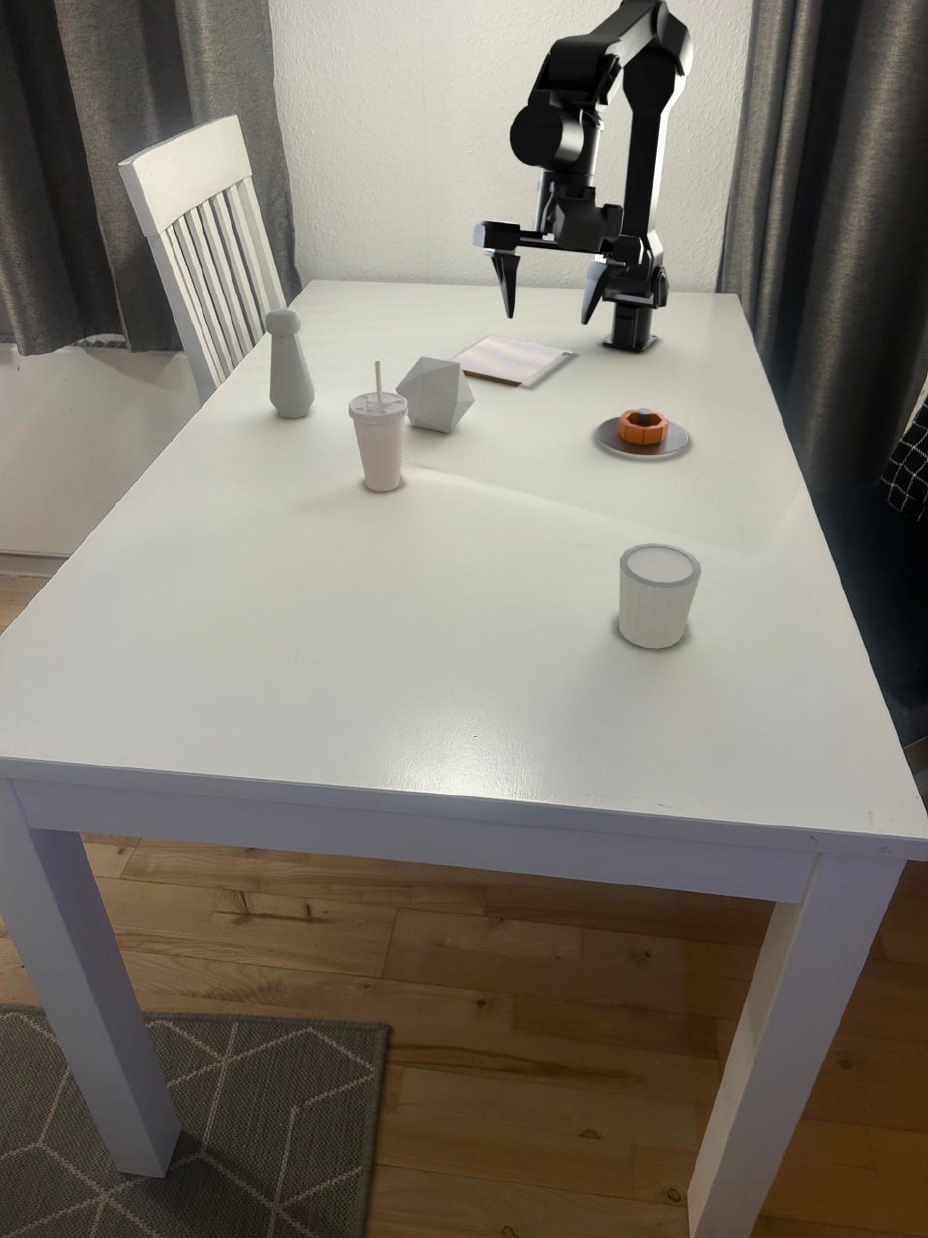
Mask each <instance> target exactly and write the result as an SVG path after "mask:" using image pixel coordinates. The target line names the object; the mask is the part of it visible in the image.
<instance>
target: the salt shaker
mask: <svg viewBox="0 0 928 1238" xmlns="http://www.w3.org/2000/svg"><path fill="white" fill-rule="evenodd" d="M264 325H265V330H266V332H267V333H268V334H270V335H271V342H270V343H271V344H270V373H269V374H270V375H269V376H270V379H269V401H270V403H271V404H272V405H273V407H274V408H275V410H276V411H277V412H278V414H279V415H280V418H286V419H298V418H302V417H303V418H304V417H306V416H308V414H309V412H310V410H311V407H312V405H313V403H314V401H315V395H316V390H315V386H314V383H313V380H312V377H311V374H310V371H309V367H308V364H307V360H306V357H305V353H304V351H303V347H302V344H301V342H300V341H301V340H300V338H299V334H298V333H299V332H300V331H301V326H302V321H301V315H300V314H299V313H298V312H297V311H295V310H294V309H290V308H278V309H277V308H276V309H273V310H271V311H269V312H267V314H266V315H265V319H264Z"/></svg>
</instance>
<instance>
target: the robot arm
mask: <svg viewBox="0 0 928 1238" xmlns="http://www.w3.org/2000/svg"><path fill="white" fill-rule="evenodd" d="M693 45H694V44H693V42H692V38H691V34H690V31H689V28H688V26H687V25H686V24H685V23H683V22H682V21H681V20H680V19H679V18H678V17H676V16H675V15H674V14H672V12H670V10H669V7H668V2H667V1H666V0H621V2H620V4H619V7H618V8H617V9H616V10H615V11H613V13H611V14H610V15H609V16H608V17H607V18H605V20H603V21H602V22H600V24H598V25H597V26H596V27H595V28H594V29H593V30H591V31H590V32H589V33H586V34H579V35H569V36H565V37H562V38H559V39H556V40H555V41H554V42H553V44H551V46H550V49H549V51H548V52H547V53H546V55H545V57H544V59H543V62H542V64H541V66H540V69H539V72H538V74H537V76H536V78H535V81H534V83H533V85H532V88H531V91H530V92H529V95H528V98H527V104H526V105H524V107H522V108H521V110H519V111H518V113H517V114H516V116H515V117H514V119H513V122H512V124H511V126H510V128H509V129H510V130H509V143H510V144H509V145H510V148H511V150H512V153H513V155H514V156H515V158H516V159H517V160H518V161H519V162H521V163H522V164H524V165H526V166H529V167H532V168H533V167H534V168H537V169H541V175H540V176H541V177H540V180H538V181H537V187H536V192H538V200H537V209H536V216H535V220H532V225H531V230H528V229H521V223H515V222H510V221H502V220H494V219H484V218H480V219H479V220H478V221H477V222H476V223H475V224H474V228H473V232H472V233H473V234H472V243H471V244H472V246H476V247H479V248H483V249H482V255H484V256H488V257H490V259H491V263H492V265H493V268H494V272H495V274H496V277H497V280H498V283H499V287H500V291H501V297H502V300H503V305H504V309H505V314H506V318H507V319H509V320H512V319H514V313H515V310H516V309H515V308H516V297H517V276H518V275H517V273H518V267H519V265H520V261H521V257H522V255H519V254H516V251H517V250H516V249H517V248H518V247H523V248H533V249H540V250H541V249H543V250H552V251H561V252H571V253H579V254H590V255H595V259H594V260H593V259H589V260H588V263H587V270H586V278H585V284H584V291H583V296H582V297H583V298H582V305H581V313H580V315H581V317H580V322H581V325H583V326H588V324H589V322H590V320H591V318H592V316H593V314H594V312H595V310H596V308H597V306H598V304H599V303H600V301H601V302H605V303H606V302H608V303H613V312H612V326H611V334H609V335H608V336H607V337H606V338H604V339H603V340H602V342H601V344H602V346H603V345H604V346H606V347H607V346H608V347H611V348H617V349H623V350H627V351H633V352H638V353H642V352H644V351H646V350H647V349H648V348H649V347H650V346H651V345H653V344H654V343H655V342H656V341H657V340H658V335H655V334H651V329H652V322H653V321H652V320H653V314H654V313H653V312H654V310H658V309H660V308H666V307H667V306H668V299H669V289H670V283H669V279H668V275H667V271H666V268H665V265H663V263H664V251H665V250H664V248H663V245H662V243H661V241H660V239H659V236H658V234H657V232H656V219H657V212H658V203H659V195H660V187H661V179H662V171H663V170H662V169H663V163H664V155H665V145H666V137H667V128H668V120H669V113H670V110H671V109H672V108H673V106H674V104H675V103H676V101H677V100H678V99H679V97H680V96H681V94H682V92H683V91H684V89H685V86H686V80H687V76H688V75H689V74H690V71H691V69H692V64H693V60H694V59H693V58H694V46H693ZM620 86H621V90H622V93H623V94H624V97H625V99H626V102H627V104H628V106H629V109H630V111H631V120H630V130H629V131H630V133H629V142H628V151H627V152H628V154H627V162H626V173H625V182H624V193H623V202H622V203H623V204H622V205H621V204H616V203H609V202H608V203H607V202H606V203H604V204H603V205H602V206H597V205H596V196H597V192H596V189H597V187H596V186H594V185H593V184H594V178H595V172H596V171H595V170H596V164H597V157H598V151H599V144H600V137H601V133H603V132H604V130H605V124H604V121H603V119H602V118H601V116H600V115H599V113H603V112H604V110H605V109H606V108H607V106H608V107H609V105H610V103H611V101H612V99H613V98H614V96H615V95H616V93H617V92H618V90H619V88H620ZM550 234H552V235H553V238H544V236H545V237H548V236H549V235H550Z"/></svg>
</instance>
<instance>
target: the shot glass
mask: <svg viewBox="0 0 928 1238" xmlns="http://www.w3.org/2000/svg"><path fill="white" fill-rule="evenodd" d="M701 574H702V566H701V562H700V561H699V560H698V559H697V558H696V557H695V556H694V554H692V553H691V552H688V551H687V550H685V549H683V548H681V547H678V546H674V545H671V544H666V543H652V542H650V543H644V544H638V545H634V546H633V547H630V548H628V549H626V550H624V552H623V553H622V555H621V556H620V558H619V592H618V593H619V594H618V595H619V596H618V597H619V604H618V605H619V607H618V610H619V611H618V612H619V613H618V622H619V623H618V627H619V628H618V629H619V632H620V634H621V635H622V637H623V638H624V639H625V640H626V641H628V642H630V643H631V644H633V645H635V646H639V647H641V648H644V649H653V650H654V649H655V650H656V649H657V650H659V649H665V648H670V647H672V646H674V645H675V644H677V643H679V641H680V640H681V638H682V637H683V634H684V630H685V628H686V625H687V622H688V621H687V620H688V619H689V615H690V611H691V608H692V604H693V601H694V598H695V594H696V591H697V588H698V584H699V581H700V577H701Z"/></svg>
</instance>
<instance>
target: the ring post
mask: <svg viewBox="0 0 928 1238" xmlns="http://www.w3.org/2000/svg"><path fill="white" fill-rule="evenodd" d="M652 411H653V410H652V409H651V408H647V407H641V408H638V411H637V418H636V425H638V426H643V427H648V426H651V420H652ZM619 417H620V416H615V417H613V418H609V419H607V420H605V421H604V422H602V423H601V424H599V426H598V427H597V429H596V436H597V438H598V440H599V441H600V442H601V443H603V444H604V445H605V446H607V447H609V448H611V449H613V450H616V451H619V452H621V453H626V454H631V455H637V456H660V455H667V454H670V453H673V452H677V451H678V450H680V449H682V448H684V447H685V446H686V445H687V443H688V442H689V441H688V440H689V435H688V433H687V431H686V430H685V429H684V428H683V427H682V426H680V425H679V424H677V423H675V422H673V421H670V420H669V425H668V432H667V436H666V437H665V438H664V439H663V440H662V442H659V443H654V444H646V445H643V444H642V445H640V444H636V443H632V442H628V441H625V440H623V438H622V437H621V436H620V435H619V434H618V424H619Z"/></svg>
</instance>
